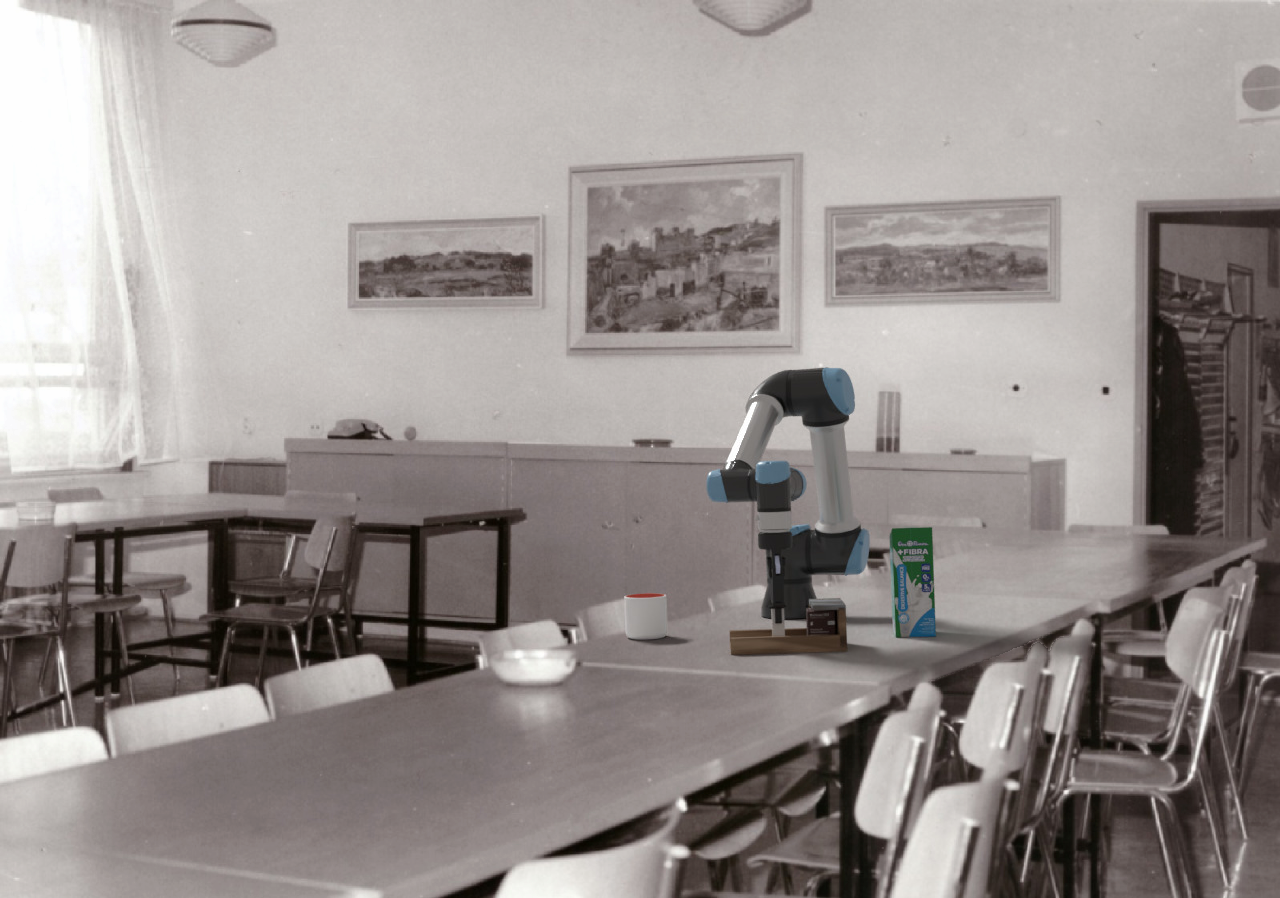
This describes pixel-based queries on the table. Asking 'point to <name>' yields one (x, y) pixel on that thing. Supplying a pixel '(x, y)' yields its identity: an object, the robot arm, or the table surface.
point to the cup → (646, 616)
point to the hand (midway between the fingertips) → (778, 637)
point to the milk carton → (912, 582)
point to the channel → (794, 635)
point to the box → (820, 622)
